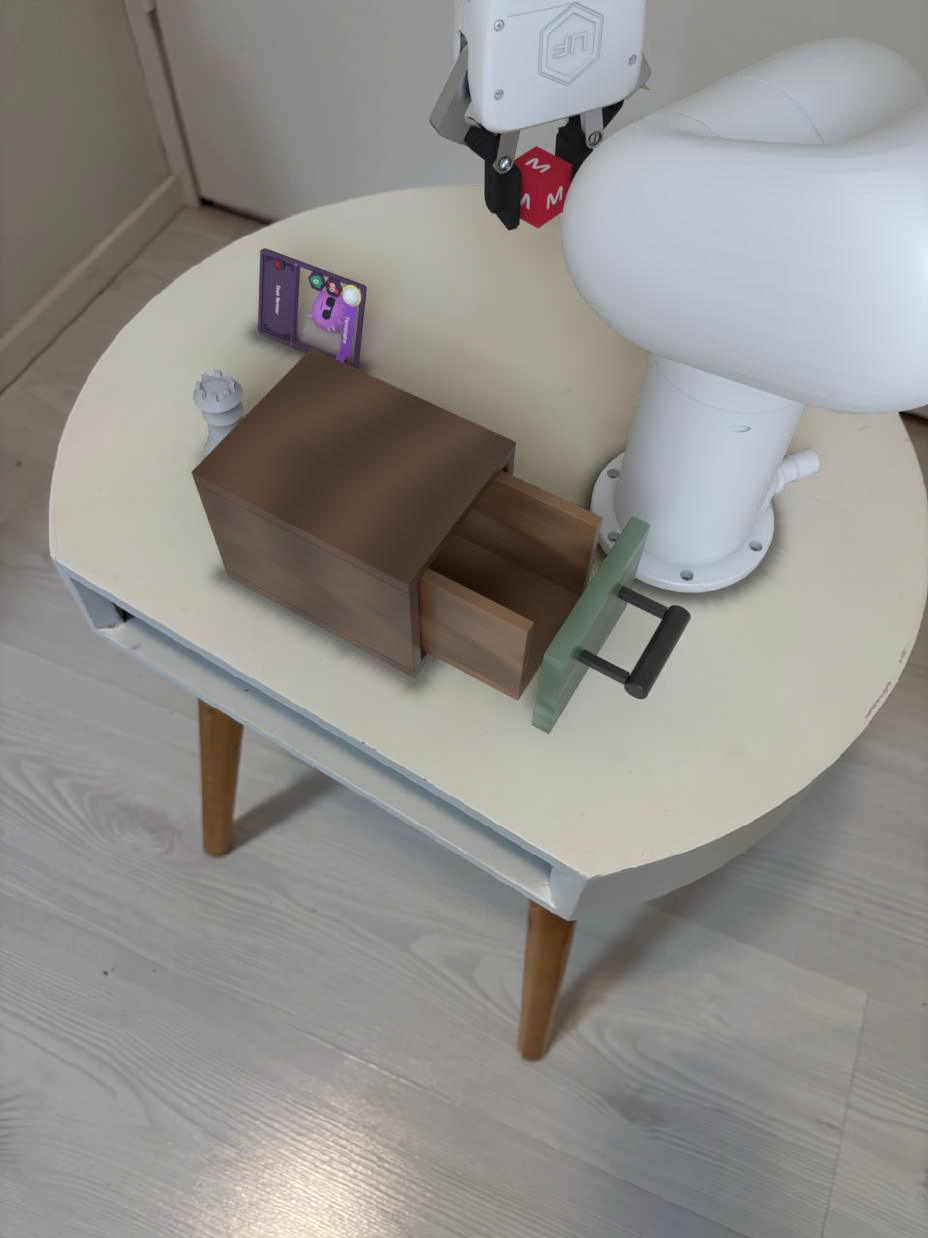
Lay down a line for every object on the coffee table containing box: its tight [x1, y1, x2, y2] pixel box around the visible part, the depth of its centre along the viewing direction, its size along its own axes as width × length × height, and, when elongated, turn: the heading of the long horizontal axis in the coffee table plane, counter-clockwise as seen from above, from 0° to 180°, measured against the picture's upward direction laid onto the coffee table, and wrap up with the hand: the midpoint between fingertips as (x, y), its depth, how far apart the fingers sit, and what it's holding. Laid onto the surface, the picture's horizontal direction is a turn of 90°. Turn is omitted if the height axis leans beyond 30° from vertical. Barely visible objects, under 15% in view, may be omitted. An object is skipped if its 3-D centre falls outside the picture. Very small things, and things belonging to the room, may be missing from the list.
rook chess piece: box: [192, 369, 245, 459], centre depth 66 cm, size 4×4×8 cm
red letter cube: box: [514, 145, 572, 229], centre depth 61 cm, size 3×3×3 cm
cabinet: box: [190, 348, 517, 679], centre depth 61 cm, size 15×12×11 cm
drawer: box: [417, 470, 692, 735], centre depth 58 cm, size 18×11×9 cm, turn 59°
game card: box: [257, 247, 368, 370], centre depth 74 cm, size 7×5×9 cm
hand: (536, 205), depth 62 cm, fingers closed on red letter cube, 4 cm apart
